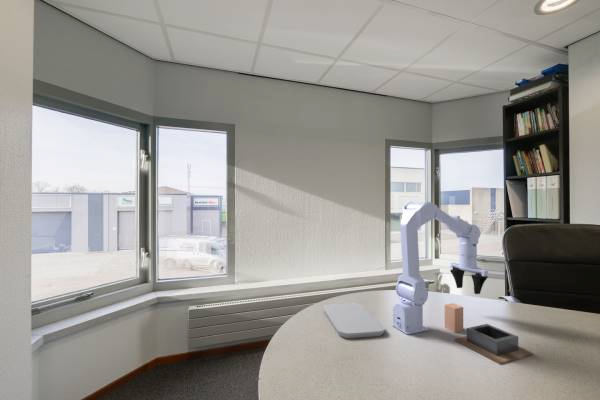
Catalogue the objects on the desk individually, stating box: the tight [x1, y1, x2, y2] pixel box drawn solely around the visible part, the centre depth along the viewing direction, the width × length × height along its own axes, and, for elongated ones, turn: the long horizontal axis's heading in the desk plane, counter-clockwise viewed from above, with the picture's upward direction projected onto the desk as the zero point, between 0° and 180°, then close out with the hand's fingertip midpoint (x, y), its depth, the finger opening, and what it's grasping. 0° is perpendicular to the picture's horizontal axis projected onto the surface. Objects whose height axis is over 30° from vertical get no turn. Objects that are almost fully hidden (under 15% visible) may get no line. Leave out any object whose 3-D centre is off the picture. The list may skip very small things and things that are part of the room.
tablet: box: [322, 302, 386, 339], centre depth 101 cm, size 16×26×2 cm, turn 9°
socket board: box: [454, 323, 534, 365], centre depth 83 cm, size 14×14×4 cm
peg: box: [444, 302, 464, 334], centre depth 95 cm, size 4×4×8 cm
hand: (468, 290), depth 106 cm, fingers open, 7 cm apart
